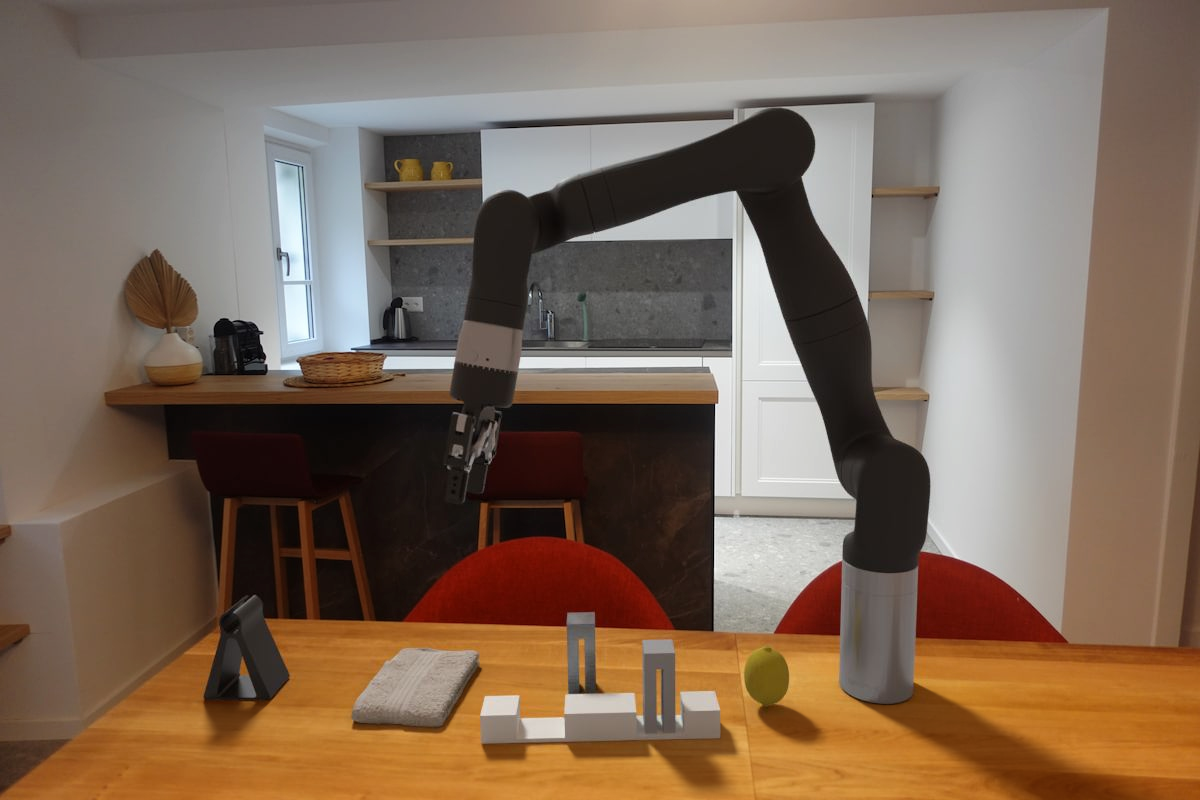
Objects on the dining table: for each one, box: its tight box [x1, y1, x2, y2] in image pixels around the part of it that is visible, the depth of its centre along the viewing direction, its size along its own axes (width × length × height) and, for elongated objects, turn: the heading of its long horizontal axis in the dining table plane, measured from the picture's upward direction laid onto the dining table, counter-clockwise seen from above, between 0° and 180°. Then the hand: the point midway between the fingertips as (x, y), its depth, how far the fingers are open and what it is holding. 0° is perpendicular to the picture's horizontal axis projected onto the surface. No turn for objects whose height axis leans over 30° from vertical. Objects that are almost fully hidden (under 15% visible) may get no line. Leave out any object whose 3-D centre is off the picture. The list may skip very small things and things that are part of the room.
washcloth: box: [350, 647, 480, 728], centre depth 107 cm, size 12×18×3 cm, turn 173°
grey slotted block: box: [566, 611, 597, 694], centre depth 106 cm, size 4×4×10 cm
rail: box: [479, 638, 721, 745], centre depth 96 cm, size 28×4×10 cm, turn 91°
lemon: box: [743, 645, 790, 708], centre depth 101 cm, size 6×6×8 cm
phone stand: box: [202, 594, 291, 701], centre depth 108 cm, size 9×6×12 cm, turn 87°
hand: (464, 497), depth 96 cm, fingers open, 8 cm apart
